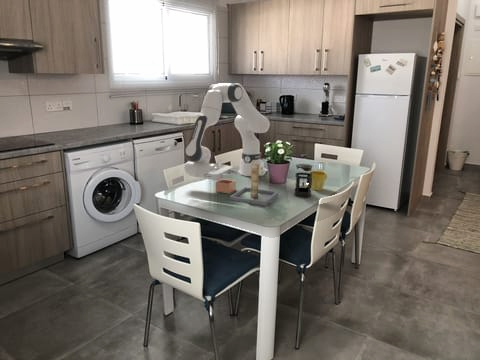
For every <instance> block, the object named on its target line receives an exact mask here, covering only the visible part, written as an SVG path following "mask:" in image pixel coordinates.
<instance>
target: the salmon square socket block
mask: <svg viewBox="0 0 480 360" xmlns="http://www.w3.org/2000/svg"><path fill="white" fill-rule="evenodd" d="M236 186H237V180H233V179H228V178H222V179H220V180H217V181H216V182H215V192H217V193H225V194H231V193H233V192H235V191H236V188H237V187H236Z"/></svg>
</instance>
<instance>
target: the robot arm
mask: <svg viewBox="0 0 480 360" xmlns="http://www.w3.org/2000/svg"><path fill="white" fill-rule="evenodd" d="M223 103H225V104H226V103H231V105H232V107H233V109H234V110H235V113H236V115H237V116H236V117H235V119H234V121H233V122H234V127H235V129H237V131H238V132H239V134H240V137H241V141H242V153H241V160H239V169H238V170H235V169H234V166H232V165H227V164H222V163H220V162H217V163H212V162H211V163H210V161H211V157H212V152H211V150H210V149H209V148H208V147H206V146H203V145H202V141H203V138H204V134H205V131H206V129H208V128H209V127H211V126H215V124H217V123H218V121H219V119H220V117H221V112H222V106H223ZM270 126H271V122H270V120H269V119H268V117H266V116H265V115H263V114H261V113H260V111H259V110H257V108H256V107H255V106H254V104H253V103H252V101H251V99H250V96H249V94H248V93H247V90H246V89H245V87H243V85H242V84H240V83H238V82H237V83H230V82H224V83H223V82H222V83H213V84H211V85H210V86H209V88H208V90H207V92H206V93H205V96H204V97H203V102H202V105H201V110H200V113H199V115H198V117H197V118H196V120H195V123H194V126H193V129H192V132H191V135H190V138H189V140H188V142H187V144H186V146H184V147H185V148H184V149H183V150H184V151H183V154H184V157H185V159H186V160H187V162H185V164H184V172H185V173H186V175H187V176H189V177H192V178H198V179H200V178H201V179H202V178H203V179H205V180H211V181H216V182H218V181H219V180H221V179H231V178H232V174H233V175H238V174H240V175H241V176H245V177H251V169H252V164H259V177H262V176H263V177H264V176H265V174H266V173H267V172H268V169H267V168H265V164H264V161H263V160H262V158H261V156H262V152H261V151H260V147H261V146H260V139H258V138H257V137H256V135H255V133H256V134H264V133H266V132H268V131H269V129H270Z"/></svg>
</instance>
